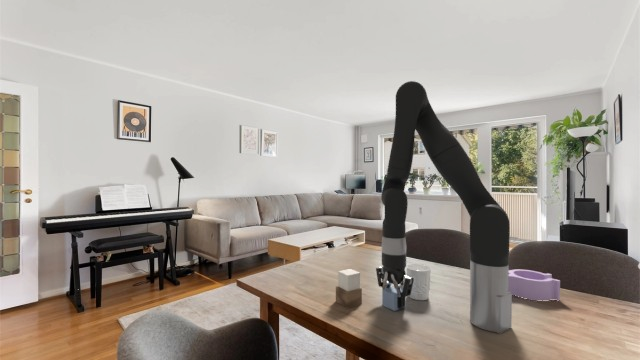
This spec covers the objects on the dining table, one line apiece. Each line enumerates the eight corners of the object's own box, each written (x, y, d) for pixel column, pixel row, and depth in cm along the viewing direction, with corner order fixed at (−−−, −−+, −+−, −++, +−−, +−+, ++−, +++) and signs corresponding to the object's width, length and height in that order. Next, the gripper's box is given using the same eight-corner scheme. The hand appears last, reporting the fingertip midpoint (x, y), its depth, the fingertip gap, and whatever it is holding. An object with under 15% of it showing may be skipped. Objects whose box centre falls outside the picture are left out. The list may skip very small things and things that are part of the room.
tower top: (359, 288, 96) (360, 272, 95) (347, 291, 93) (347, 275, 93) (350, 283, 100) (350, 268, 100) (338, 286, 97) (338, 271, 97)
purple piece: (493, 296, 101) (493, 276, 101) (485, 284, 113) (485, 266, 113) (563, 305, 95) (564, 283, 95) (548, 290, 106) (548, 271, 106)
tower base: (361, 304, 95) (361, 288, 95) (347, 308, 92) (347, 292, 92) (350, 297, 100) (350, 282, 100) (335, 301, 97) (335, 286, 97)
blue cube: (405, 307, 92) (405, 291, 92) (394, 311, 90) (394, 294, 89) (393, 301, 96) (393, 286, 96) (382, 305, 94) (382, 289, 94)
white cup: (414, 302, 96) (415, 271, 96) (401, 293, 104) (402, 264, 104) (435, 299, 98) (435, 269, 98) (421, 290, 106) (421, 263, 106)
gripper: (420, 254, 89) (420, 310, 89) (385, 245, 101) (385, 294, 101) (403, 258, 85) (403, 317, 85) (369, 247, 97) (369, 299, 97)
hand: (393, 304), depth 93 cm, fingers closed on blue cube, 5 cm apart
